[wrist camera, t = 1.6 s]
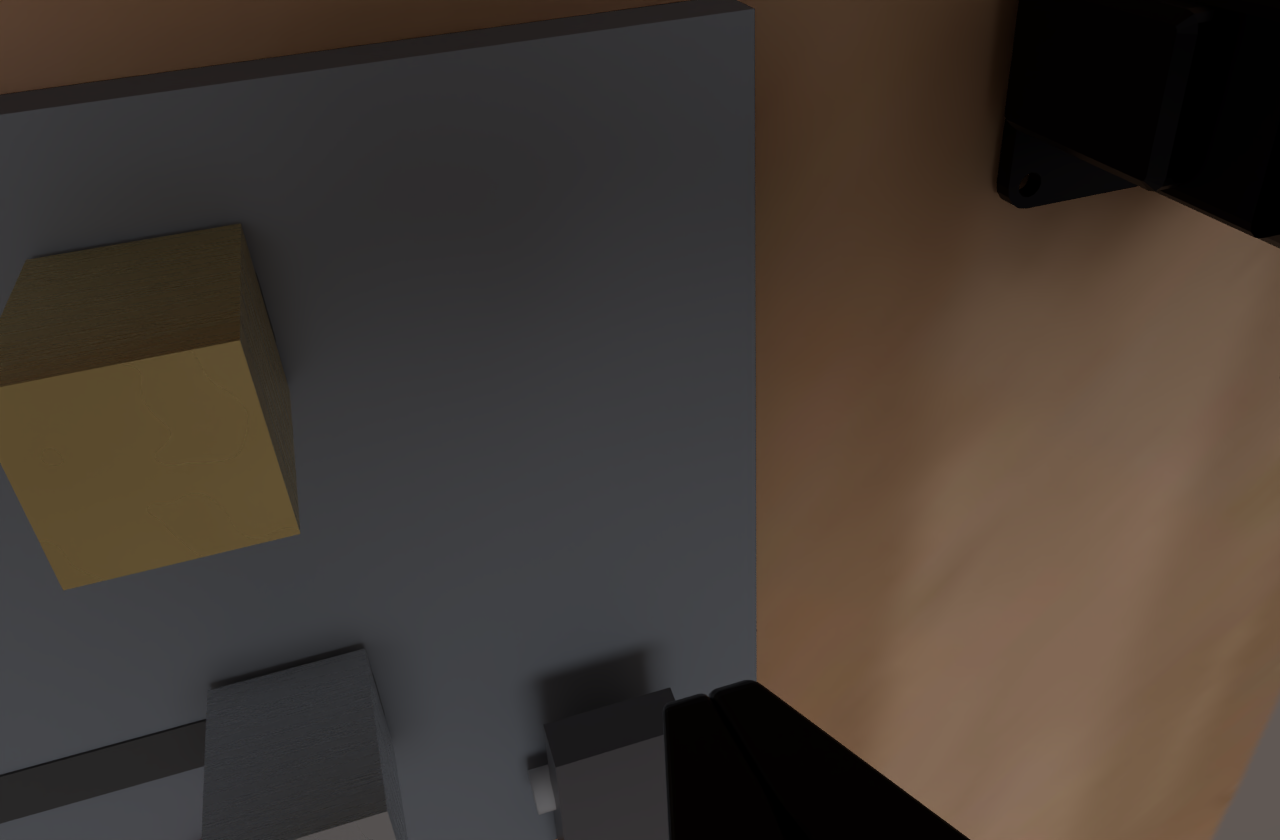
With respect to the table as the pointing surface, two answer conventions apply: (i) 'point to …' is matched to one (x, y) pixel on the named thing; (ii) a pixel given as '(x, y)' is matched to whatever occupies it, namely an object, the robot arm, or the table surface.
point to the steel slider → (301, 757)
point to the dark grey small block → (607, 772)
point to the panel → (420, 404)
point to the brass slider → (145, 406)
